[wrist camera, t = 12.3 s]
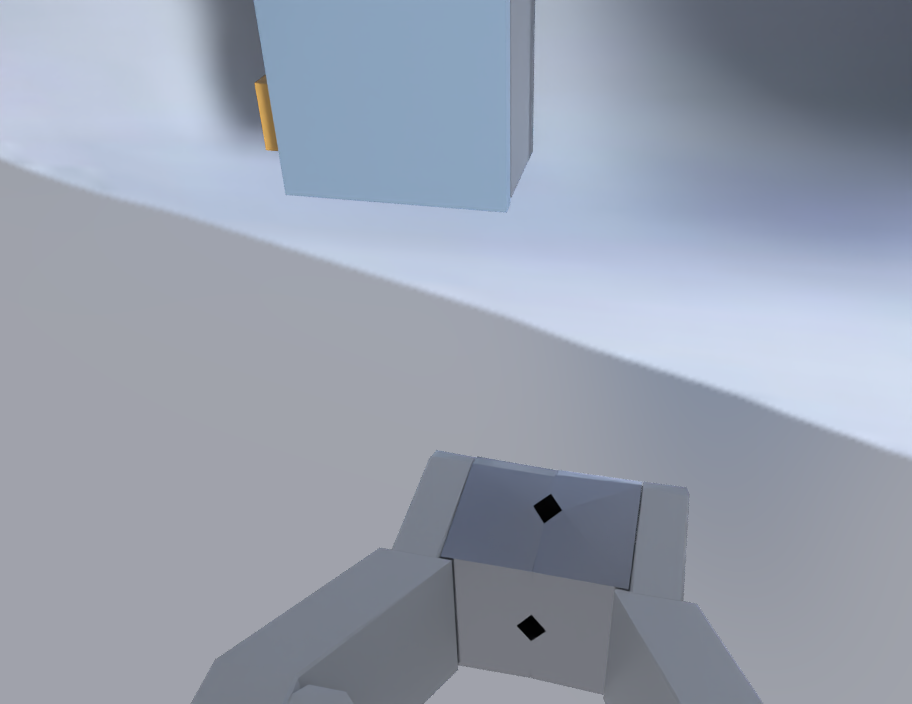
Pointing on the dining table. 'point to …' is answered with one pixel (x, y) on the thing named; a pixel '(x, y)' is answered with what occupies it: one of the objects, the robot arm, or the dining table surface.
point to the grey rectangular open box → (521, 86)
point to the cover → (389, 99)
